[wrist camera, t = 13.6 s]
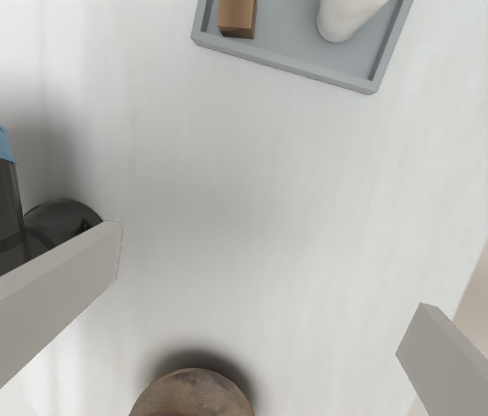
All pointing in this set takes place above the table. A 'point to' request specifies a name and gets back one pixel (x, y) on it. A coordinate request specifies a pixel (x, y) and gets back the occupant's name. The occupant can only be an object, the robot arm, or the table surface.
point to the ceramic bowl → (192, 396)
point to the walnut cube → (237, 18)
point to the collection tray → (309, 42)
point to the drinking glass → (345, 17)
